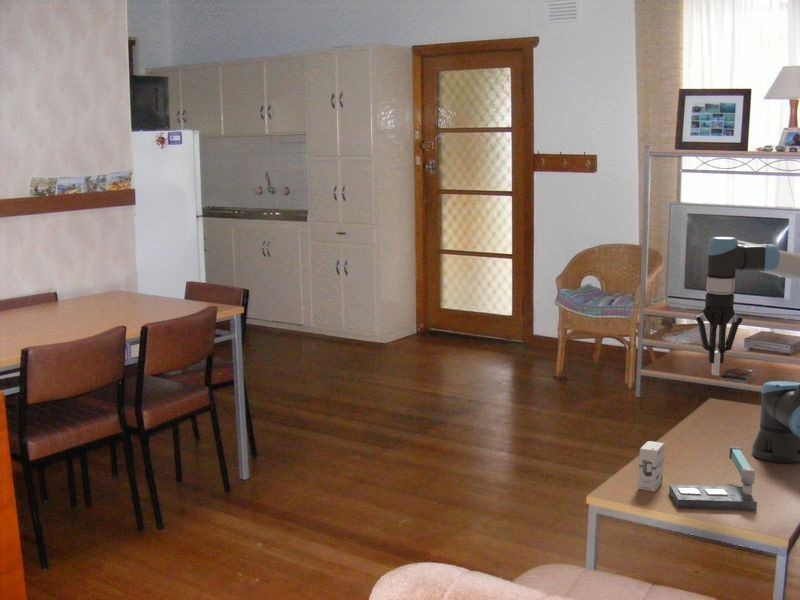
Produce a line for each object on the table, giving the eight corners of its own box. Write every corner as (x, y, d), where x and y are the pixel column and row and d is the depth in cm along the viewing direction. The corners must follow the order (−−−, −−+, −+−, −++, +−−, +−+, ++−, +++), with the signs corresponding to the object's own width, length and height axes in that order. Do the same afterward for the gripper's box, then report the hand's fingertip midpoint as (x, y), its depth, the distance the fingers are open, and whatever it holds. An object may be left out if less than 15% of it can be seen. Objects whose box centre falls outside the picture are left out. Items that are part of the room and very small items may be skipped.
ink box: (645, 479, 267) (647, 439, 266) (663, 482, 265) (665, 442, 263) (637, 489, 260) (639, 448, 258) (655, 492, 258) (657, 450, 256)
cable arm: (755, 484, 247) (756, 471, 247) (742, 484, 248) (743, 471, 247) (740, 458, 268) (741, 446, 268) (728, 458, 269) (729, 446, 268)
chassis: (745, 495, 255) (746, 476, 255) (757, 511, 245) (758, 491, 244) (669, 493, 257) (670, 474, 256) (677, 508, 246) (678, 488, 245)
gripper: (740, 290, 268) (735, 371, 272) (693, 289, 269) (688, 370, 273) (747, 294, 260) (742, 377, 264) (699, 293, 261) (694, 376, 265)
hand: (715, 374), depth 268 cm, fingers closed
